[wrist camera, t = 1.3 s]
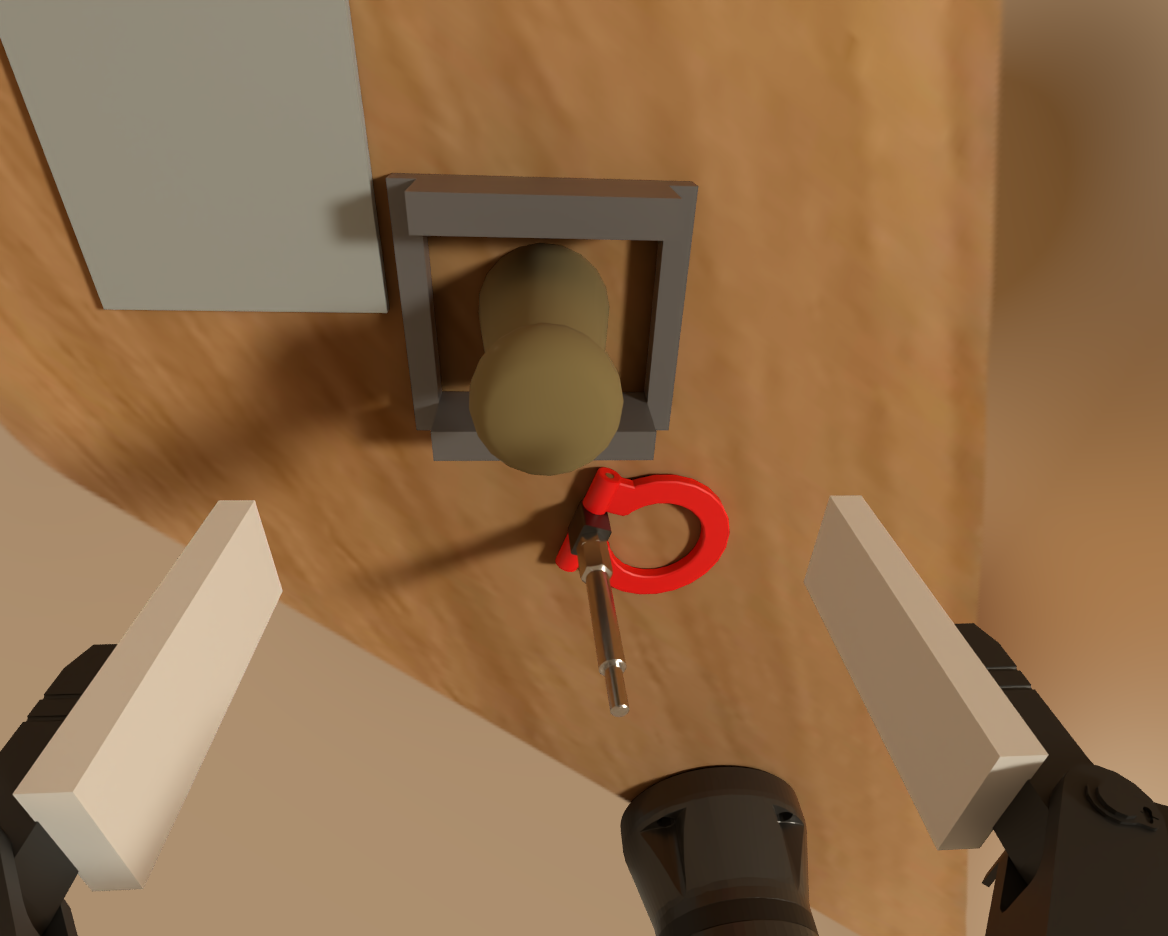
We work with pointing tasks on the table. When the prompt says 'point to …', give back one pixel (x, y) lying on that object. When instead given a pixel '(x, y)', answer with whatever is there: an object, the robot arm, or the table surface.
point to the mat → (206, 149)
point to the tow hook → (605, 570)
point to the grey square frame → (539, 214)
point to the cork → (545, 362)
